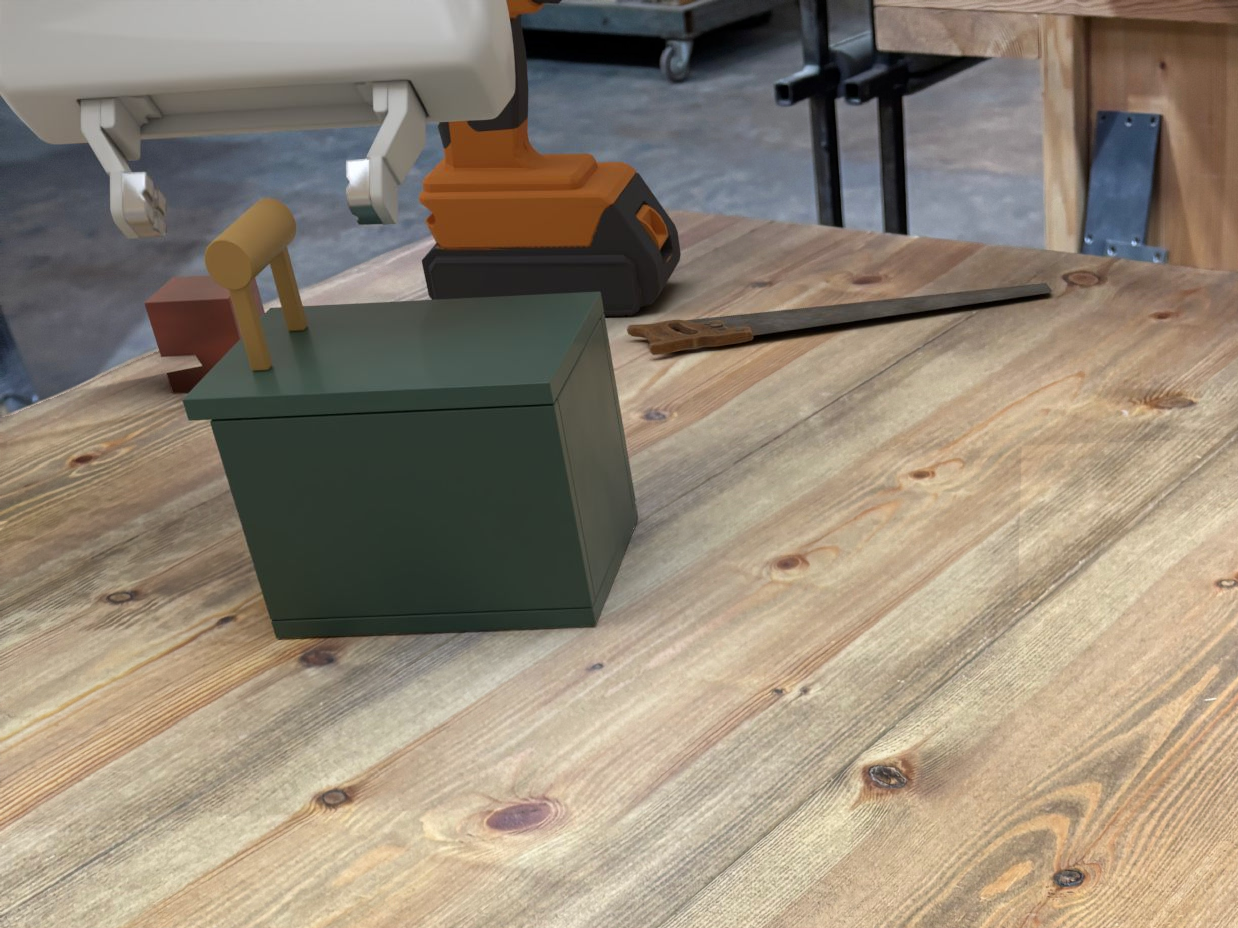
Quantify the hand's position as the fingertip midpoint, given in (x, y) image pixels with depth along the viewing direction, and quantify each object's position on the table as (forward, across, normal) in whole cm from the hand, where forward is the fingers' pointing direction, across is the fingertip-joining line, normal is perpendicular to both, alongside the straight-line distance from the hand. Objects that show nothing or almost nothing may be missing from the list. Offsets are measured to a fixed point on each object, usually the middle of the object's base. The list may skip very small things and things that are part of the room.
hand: (255, 223), depth 77 cm
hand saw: (-13, +19, +33) cm, 40 cm away
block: (-10, -15, +30) cm, 35 cm away
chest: (+10, +5, +9) cm, 15 cm away
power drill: (-18, +4, +38) cm, 42 cm away
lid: (+4, +5, +3) cm, 7 cm away
